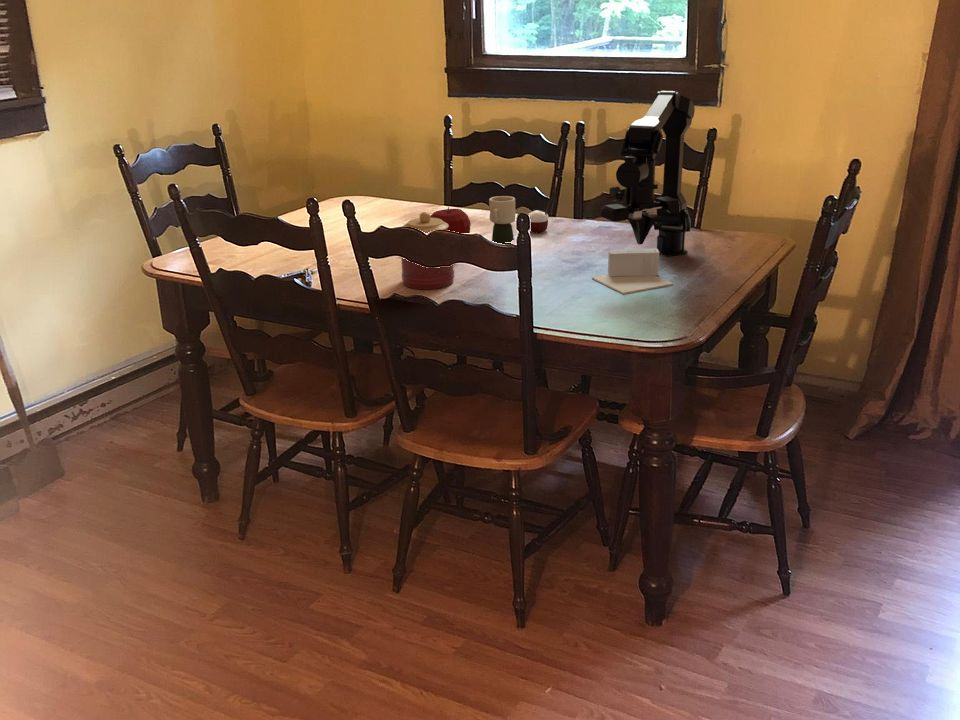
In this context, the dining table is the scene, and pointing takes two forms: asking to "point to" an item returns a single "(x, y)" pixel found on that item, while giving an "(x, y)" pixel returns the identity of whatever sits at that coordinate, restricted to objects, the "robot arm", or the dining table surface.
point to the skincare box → (633, 262)
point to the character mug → (502, 218)
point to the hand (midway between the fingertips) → (639, 244)
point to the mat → (631, 283)
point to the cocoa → (540, 219)
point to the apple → (454, 219)
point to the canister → (424, 276)
